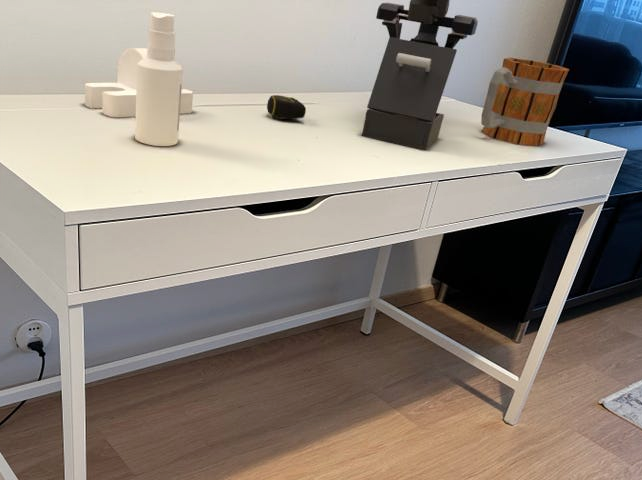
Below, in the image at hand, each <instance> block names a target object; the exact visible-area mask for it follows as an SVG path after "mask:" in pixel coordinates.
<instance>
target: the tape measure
mask: <svg viewBox="0 0 642 480" xmlns="http://www.w3.org/2000/svg"><path fill="white" fill-rule="evenodd" d="M266 109H267V113H268V114H269V115H272V116H273V117H274V118H276V119H277V120H283V119H285V120H293V119H294V120H296V119H302V118H304V117H305V115H306V111H307V108H306V106H305V105H304V103H302V102H301V101H299V100H298V99H296V98H294V97H292V96H291V97H289V96H285V95H281V94H280V95H279V94H274V95H270V96H269V98H268V99H267V104H266Z"/></svg>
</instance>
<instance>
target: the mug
mask: <svg viewBox="0 0 642 480" xmlns="http://www.w3.org/2000/svg"><path fill="white" fill-rule="evenodd" d="M569 72H570V68H567V67H564V66H560V65H556V64H552V63H548V62H542V61H537V60H531V59H525V58H517V57H505V58H503V62H502V67H500V68H499V69H497V70H495V71H494V72H493V74H492V77H491V79H490V81H489V84H488V89H487V93H486V94H487V95H486V98H485V101H484V105H483V108H482V112H481V125H482V126H483V128H482V131H481V133H483V134H484V135H486V136H489V137H490V138H492V139H495V140H498V141H502V142H507V143H511V144H515V145H519V146H520V145H521V146H532V147H540V146H541V145H542V144H543V143H545V139H546V134H547V130H548V127H549V125H550V122H551V119H552V117H553V114H554V113H555V110H556V108H557V104H558V101H559V97H560V94H561V90H562V88H563V85H564V82H565V80H566V78H567V76H568V73H569Z"/></svg>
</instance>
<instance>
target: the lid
mask: <svg viewBox="0 0 642 480" xmlns="http://www.w3.org/2000/svg"><path fill="white" fill-rule="evenodd" d="M457 50H458V49H456V48H453V49H452V48H446V47H445V46H440V45H439V46H435V45H430V44H424V43H419V42H414V41H410V40H407V39H403V38H400V39H397V38H392V37H388V41H387V43H386V47H385V50H384V52H383V55H382V56H383V57H382V59H381V61H380V65H379V70H378V71H377V75H376V78H375V80H374V81H375V82H374V84H373V87H372V90H371V94H370V97H369V99H368V103H367V105H366V107H367V109H374V110H379V111H383V112H388V113H392V114H397V115H401V116H406V117H411V118H415V119H420V120H424V121H429V122H433V121H434V118H435V115H436V113H438V108H439V106H440V102H441V99H442V96H443V94H444V90H445V87H446V86H447V85H446V84H447V82H448V79H449V75H450V72H451V69H452V66H453V63H454V60H455V57H456V54H457V52H458V51H457Z"/></svg>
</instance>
